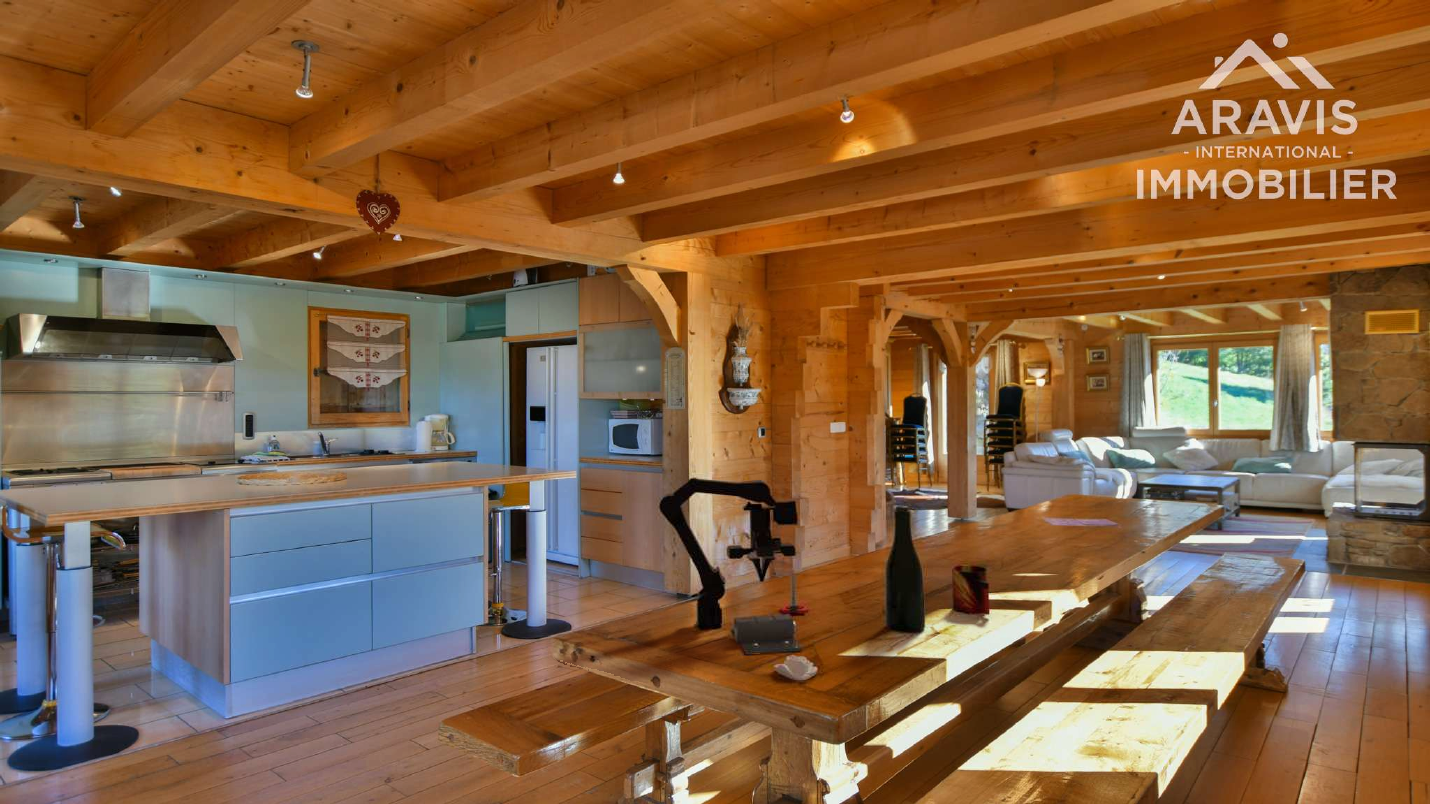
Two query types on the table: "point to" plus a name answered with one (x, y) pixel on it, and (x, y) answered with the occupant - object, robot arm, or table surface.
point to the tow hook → (793, 601)
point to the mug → (970, 589)
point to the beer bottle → (904, 579)
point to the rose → (796, 668)
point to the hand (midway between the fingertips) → (761, 581)
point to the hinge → (765, 634)
